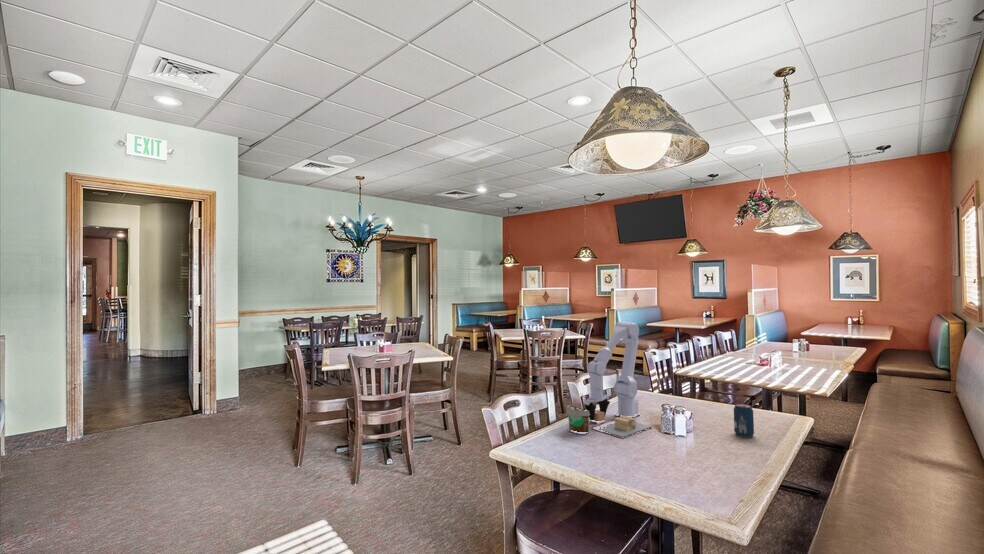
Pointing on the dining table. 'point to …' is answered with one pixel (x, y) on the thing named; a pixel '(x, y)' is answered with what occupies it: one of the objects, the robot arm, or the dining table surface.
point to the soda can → (743, 420)
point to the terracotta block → (599, 415)
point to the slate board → (623, 433)
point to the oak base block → (625, 423)
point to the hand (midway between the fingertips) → (597, 418)
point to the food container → (578, 419)
